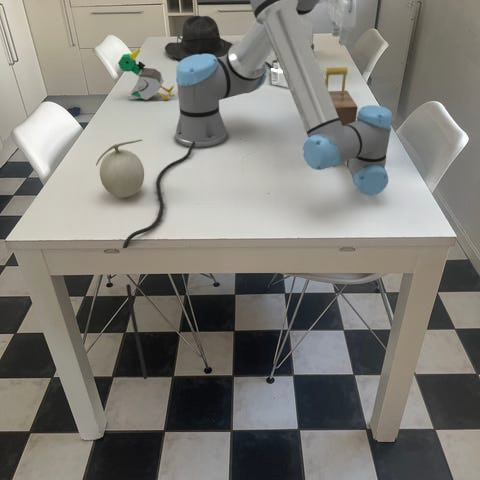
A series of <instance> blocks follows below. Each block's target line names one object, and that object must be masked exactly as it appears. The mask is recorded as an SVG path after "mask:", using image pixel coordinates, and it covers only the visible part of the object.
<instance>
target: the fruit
mask: <svg viewBox="0 0 480 480" xmlns="http://www.w3.org/2000/svg"><path fill="white" fill-rule="evenodd" d="M142 141H143V139H137V140H131V141H125V142H120V143H117V144H113V145H112V146H110V147H109V148H108V149H106V150H105V151H104V152H103V153H102V154H101V155H100V156H99V158H98V159H97V160H96V163H95V166H96V167H97V166H98V165H99V163H100V166H99V179H100V181H101V184H102V186H103V188H104V189H105V190H106V192H108V193H109V194H110V195H112V196H113V197H116V198H122V199H123V198H129V197H132V196H134V195H136V194H137V193H138V192H139V191H140V190H141V188H142V186H143V184H144V182H145V181H144V180H145V169H144V165H143V163H142V161H141V159H140V158H139V156H138V155H137V154H136V153H134V152H133V151H130V150H128V149H119V147H122V146H125V145H129V144H134V143H138V142H142ZM113 149H114V151H111V150H113ZM110 151H111V152H110ZM109 152H110V153H109ZM100 161H101V162H100Z"/></svg>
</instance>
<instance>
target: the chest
mask: <svg viewBox="0 0 480 480" xmlns="http://www.w3.org/2000/svg"><path fill="white" fill-rule="evenodd" d="M336 112H337V114H338V117H339V119H340V121H341V123H342V126H344V125H347V124H350V123H353V122H356V121H357V116H358V109H357V110H354V111H336Z"/></svg>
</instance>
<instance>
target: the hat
mask: <svg viewBox="0 0 480 480" xmlns="http://www.w3.org/2000/svg"><path fill="white" fill-rule="evenodd" d="M179 40H180V41H179ZM233 44H234V43H232V42H230V41H227V40H226V39H223V38H221V33H220V30H219V26H218V24H217V22H216V20H215V19H214V18H212V17H211V16H208V15H202V16H201V15H191V16H190V17H188V18H186V19H185V20H184V22H183V25H182V36H181V37H180V36H179V35H178V36H177V38H176V42H168V43H167V44H165V46H164V51H165V52H166V54H167V55H168V56H170V57H172V58H175V59H177V60H183V59H185V58H187V57H189V56H192V55H197V54H199V55H201V54H211V55H214V56H215V57H216V58H218V57H222V56H225V55H226V54H227V52H228V51H229V49H230V47H229V46H228V45H230V46H232V45H233Z"/></svg>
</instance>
